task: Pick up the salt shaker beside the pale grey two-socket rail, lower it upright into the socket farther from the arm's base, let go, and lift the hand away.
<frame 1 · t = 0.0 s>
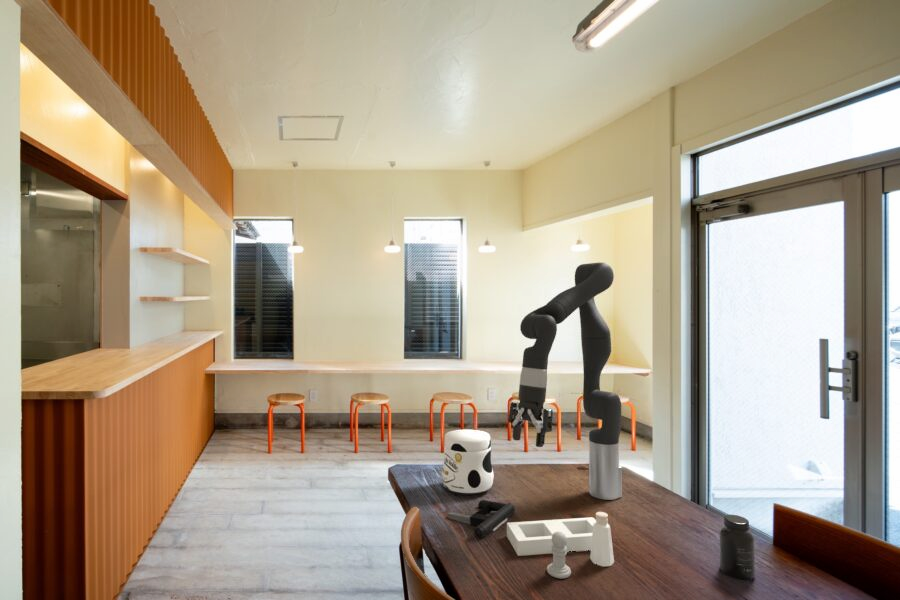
hand: (527, 443, 129), 22 cm above the table, tool pointing down, fingers open, 8 cm apart
salt shaker: (602, 561, 109), on the table
socket rail: (557, 542, 118), on the table
milk container: (467, 489, 154), on the table
supplement bottle: (737, 573, 104), on the table
chess piece: (558, 573, 104), on the table
door handle: (479, 521, 131), on the table
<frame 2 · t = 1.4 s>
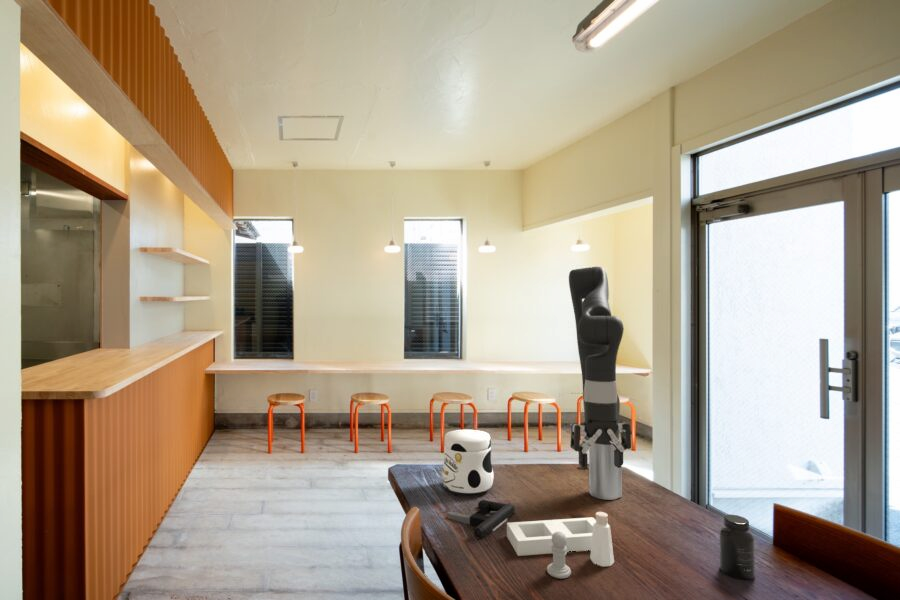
hand: (600, 467, 110), 22 cm above the table, tool pointing down, fingers open, 8 cm apart
nothing on the table moved.
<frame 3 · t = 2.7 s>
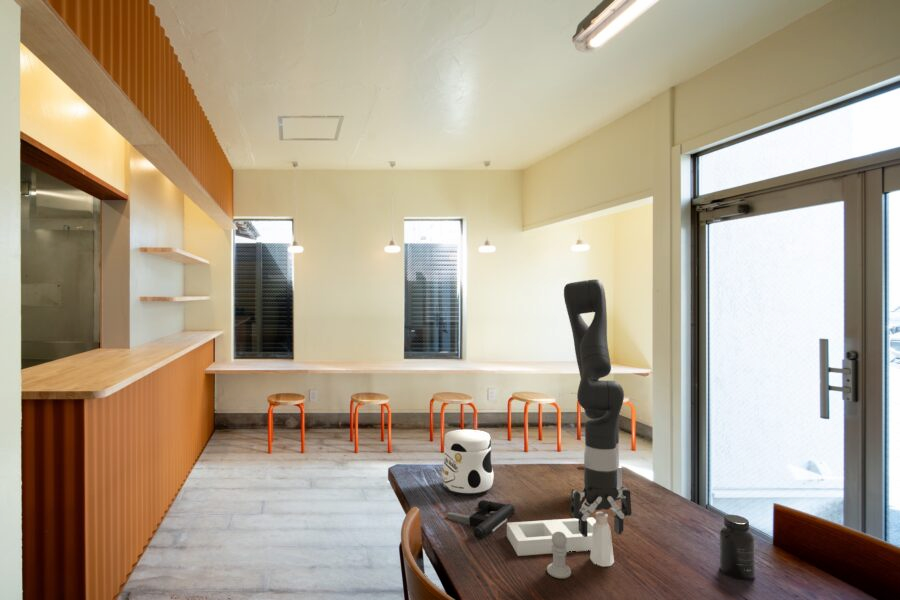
hand: (600, 534, 109), 6 cm above the table, tool pointing down, fingers open, 8 cm apart
nothing on the table moved.
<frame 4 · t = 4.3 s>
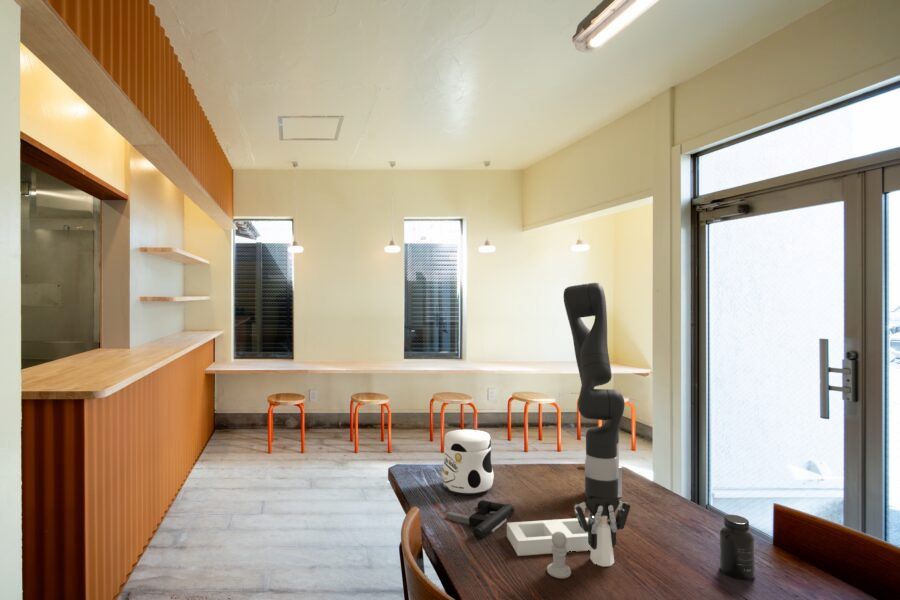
hand: (601, 546, 109), 3 cm above the table, tool pointing down, fingers closed on salt shaker, 3 cm apart
salt shaker: (602, 561, 109), on the table, touching gripper
everything else where it was.
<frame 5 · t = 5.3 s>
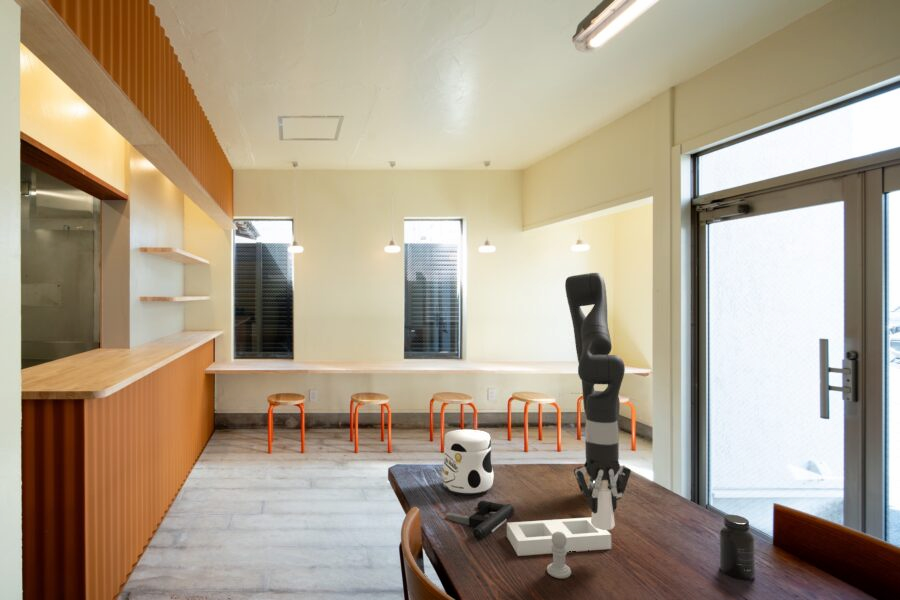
hand: (602, 511, 110), 12 cm above the table, tool pointing down, fingers closed on salt shaker, 3 cm apart
salt shaker: (602, 525, 110), point 8 cm above the table, touching gripper
everything else where it was.
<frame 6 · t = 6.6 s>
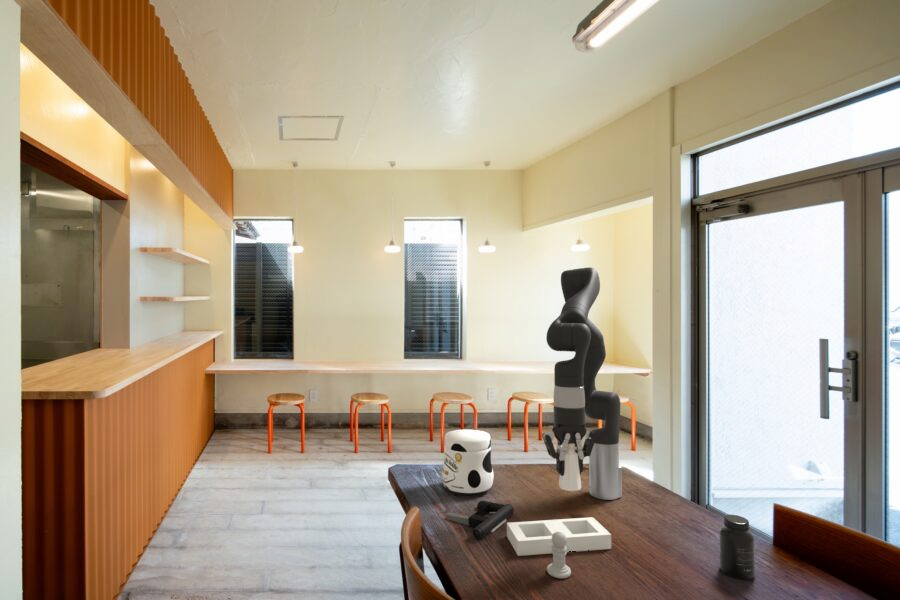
hand: (569, 473, 113), 19 cm above the table, tool pointing down, fingers closed on salt shaker, 3 cm apart
salt shaker: (570, 488, 113), point 16 cm above the table, touching gripper
everything else where it was.
when the fingers open (5 cm above the table, at t = 9.9 s): salt shaker drops 2 cm, resting in socket rail.
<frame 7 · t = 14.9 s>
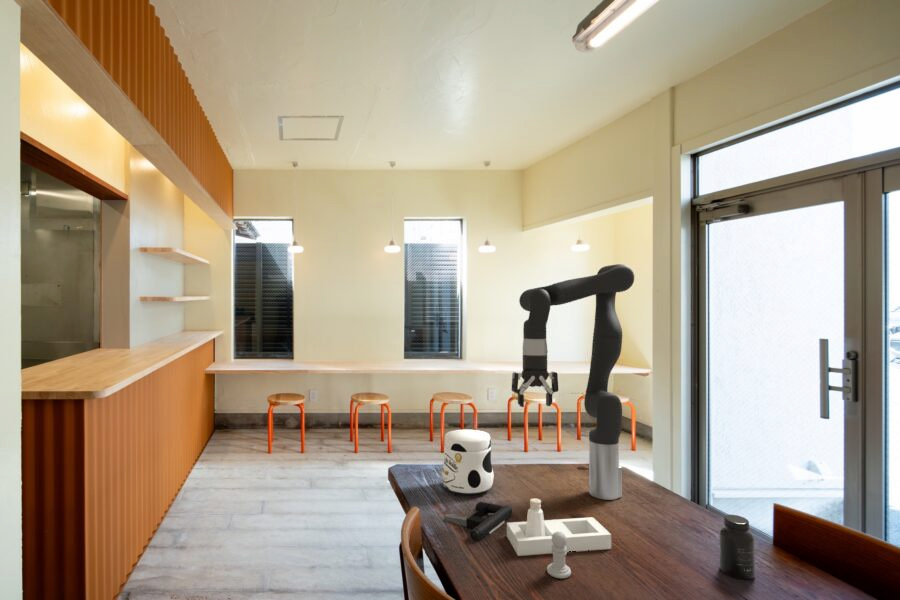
hand: (535, 406, 142), 30 cm above the table, tool pointing down, fingers open, 8 cm apart
salt shaker: (535, 544, 117), resting in socket rail
door handle: (475, 523, 130), on the table
everything else where it was.
at the end: salt shaker 0.1 cm from the target spot on the socket rail, point 0.0 cm above the socket rail's base; salt shaker tilted 0°; the gripper is holding nothing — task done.
